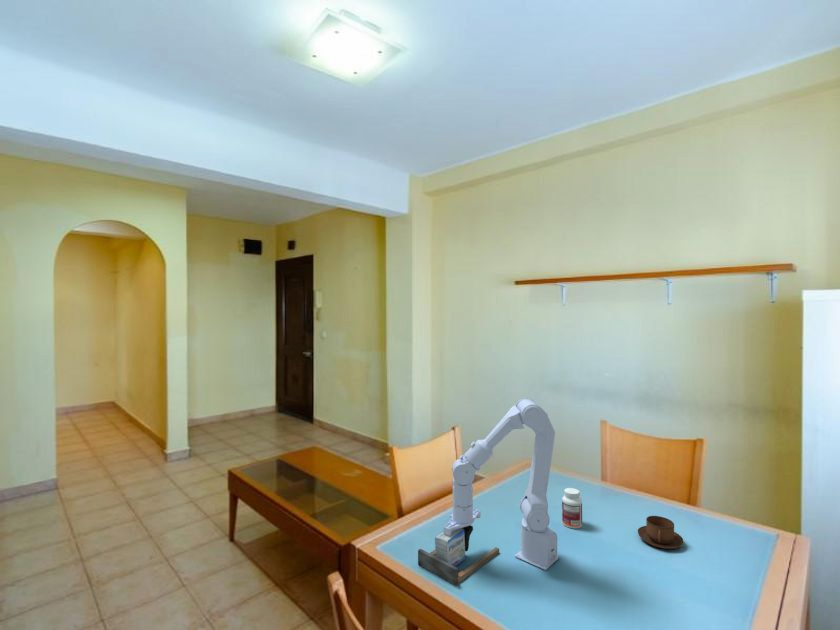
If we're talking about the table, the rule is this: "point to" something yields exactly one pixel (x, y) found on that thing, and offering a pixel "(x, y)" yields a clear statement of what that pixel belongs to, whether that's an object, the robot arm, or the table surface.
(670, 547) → the cup and saucer
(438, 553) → the medicine box
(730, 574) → the table surface
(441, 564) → the u-shaped wooden frame
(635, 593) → the table surface
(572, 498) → the pill bottle
